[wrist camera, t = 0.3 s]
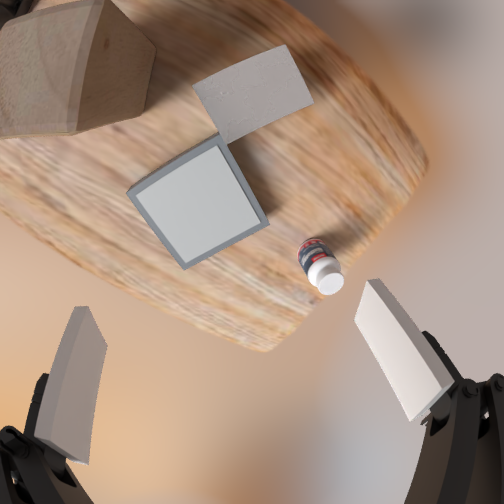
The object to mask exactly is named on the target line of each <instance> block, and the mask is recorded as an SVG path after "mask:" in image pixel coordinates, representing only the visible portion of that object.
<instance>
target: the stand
mask: <svg viewBox="0 0 504 504" xmlns="http://www.w3.org/2000/svg"><path fill="white" fill-rule="evenodd" d="M126 194H127V196H128V197H129V199H130V200H131V201H132V203H133V204H134V206H135V207H136V208H137V210H138V211H139V212H140V214H141V215H142V217H143V218H144V219H145V221H146V222H147V223H148V225H149V226H150V227H151V229H152V230H153V231H154V233H155V234H156V235H157V237H158V238H159V239H160V241H161V242H162V243H163V244H164V246H165V247H166V248H167V250H168V251H169V252H170V253H171V255H172V256H173V257H174V259H175V260H176V261H177V262H178V264H179V265H180V266H181V267H182V269H183V270H186V269H188V268H189V267H191V266H193V265H195V264H197V263H199V262H201V261H202V260H204V259H206V258H208V257H210V256H212V255H214V254H215V253H217V252H219V251H221V250H223V249H225V248H227V247H229V246H230V245H232V244H234V243H236V242H238V241H240V240H242V239H244V238H246V237H247V236H249V235H251V234H253V233H255V232H257V231H259V230H261V229H263V228H265V227H266V226H268V225H270V223H269V222H268V220H267V218H266V216H265V214H264V212H263V210H262V208H261V206H260V205H259V203H258V201H257V199H256V197H255V195H254V193H253V192H252V190H251V188H250V186H249V184H248V182H247V181H246V179H245V177H244V175H243V173H242V172H241V170H240V168H239V166H238V164H237V163H236V161H235V159H234V157H233V155H232V154H231V152H230V150H229V148H228V146H227V145H226V144H225V142H224V140H223V138H222V137H221V135H220V133H219V132H218V133H216V134H214V135H212V136H211V137H209V138H207V139H205V140H203V141H202V142H200V143H198V144H196V145H195V146H193V147H191V148H190V149H188V150H186V151H185V152H183V153H181V154H180V155H178V156H176V157H175V158H173V159H171V160H170V161H168V162H167V163H165V164H164V165H162V166H160V167H159V168H157V169H156V170H154V171H153V172H151V173H150V174H148V175H147V176H145V177H144V178H142V179H141V180H139V181H138V182H137V183H135V184H134V185H132V186H131V187H130V188H129V190H128V191H127V192H126Z"/></svg>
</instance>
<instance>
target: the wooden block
mask: <svg viewBox="0 0 504 504" xmlns="http://www.w3.org/2000/svg"><path fill="white" fill-rule="evenodd" d="M155 54H156V48H155V46H154V45H153V44H152V43H151V42H150V40H149V39H148V38H147V37H146V36H145V35H144V34H143V33H142V32H141V31H140V30H139V29H138V28H137V27H136V26H135V25H134V23H133V22H132V21H131V20H130V19H129V18H128V17H127V16H126V15H125V14H124V13H123V12H122V11H121V10H120V9H119V8H118V7H117V6H116V5H115V4H114V3H113V2H112V1H111V0H80V1H75V2H70V3H65V4H61V5H57V6H53V7H49V8H45V9H42V10H38V11H35V12H32V13H28V14H25V15H23V16H20V17H17V18H14V19H12V20H9V21H8V22H6V23H5V24H4V26H3V27H2V29H1V31H0V140H1V139H11V138H24V137H41V136H72V135H75V134H78V133H81V132H85V131H88V130H91V129H94V128H98V127H101V126H104V125H108V124H112V123H115V122H119V121H123V120H127V119H131V118H135V117H138V116H141V114H142V113H143V111H144V106H145V101H146V95H147V90H148V85H149V80H150V76H151V71H152V67H153V62H154V58H155Z"/></svg>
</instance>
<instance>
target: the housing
mask: <svg viewBox="0 0 504 504" xmlns="http://www.w3.org/2000/svg"><path fill="white" fill-rule="evenodd" d="M192 87H193V89H194V90H195V92H196V94H197V95H198V97H199V99H200V100H201V102H202V104H203V105H204V107H205V109H206V111H207V112H208V114H209V116H210V117H211V119H212V121H213V123H214V124H215V126H216V128H217V130H218V131H219V133H220V135H221V137H222V138H223V140H224V142H225V144H226V145H227V144H229V143H231V142H233V141H235V140H237V139H239V138H241V137H242V136H244V135H246V134H248V133H250V132H252V131H254V130H256V129H258V128H260V127H263V126H265V125H267V124H269V123H271V122H273V121H275V120H277V119H279V118H282V117H284V116H286V115H288V114H291V113H293V112H295V111H297V110H300V109H302V108H304V107H307V106H309V105H312V104H314V101H313V99H312V97H311V95H310V92H309V90H308V88H307V86H306V84H305V82H304V80H303V78H302V76H301V74H300V72H299V70H298V68H297V66H296V64H295V62H294V60H293V58H292V56H291V54H290V52H289V50H288V49H287V47H286V45H285V44H284V45H282V46H279V47H276V48H273V49H271V50H268V51H265V52H263V53H260V54H258V55H255V56H253V57H250V58H248V59H246V60H243V61H241V62H239V63H236V64H234V65H232V66H230V67H228V68H225V69H223V70H221V71H219V72H217V73H215V74H213V75H211V76H209V77H207V78H205V79H203V80H201V81H199V82H198V83H196V84H194V85H192Z"/></svg>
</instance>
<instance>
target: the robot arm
mask: <svg viewBox="0 0 504 504" xmlns="http://www.w3.org/2000/svg"><path fill="white" fill-rule="evenodd" d="M31 3H32V0H0V31H1V29H2V27H3V26H4V24H5V23H6V22H8V21H9V20H12V19H14V18H17V17H20V16H23V15H25V14H27V12H28V10H29V8H30V5H31ZM354 321H355V323H356V324H357V325H358V328H359V329H360V331H361V333H362V335H363V336H364V338H365V340H366V341H367V343H368V345H369V347H370V348H371V350H372V352H373V354H374V355H375V357H376V359H377V361H378V363H379V364H380V366H381V368H382V370H383V372H384V374H385V375H386V377H387V379H388V381H389V383H390V385H391V386H392V388H393V390H394V392H395V394H396V396H397V398H398V400H399V401H400V403H401V405H402V407H403V409H404V411H405V413H406V415H407V417H408V419H409V421H412V420H414V419H416V418H418V417H420V416H422V415H423V414H424V413H425V412H426V411H427V410H428V409H430V411H431V413H430V414H429V415H428V416H427V417H425V418H424V420H422V422H421V425H423V424H424V423H425V422H427V421H428V422H427V424H426V425H425V426H427V427H426V432H425V437H424V441H423V445H422V449H421V453H420V457H419V461H418V464H417V467H416V471H415V474H414V477H413V480H412V483H411V486H410V489H409V492H408V495H407V497H406V500H405V503H404V504H504V376H503V375H501V374H498V373H496V374H493V376H492V377H491V378H490V379H489V380H488V381H484V382H479V383H476V382H475V381H473V380H471V379H464V378H463V377H462V376H461V375H460V373H459V372H458V370H457V369H456V367H455V366H454V364H453V363H452V362H451V360H450V359H449V357H448V356H447V354H445V351H444V350H443V349H442V347H440V344H439V343H438V342H437V340H436V339H435V338H434V337H433V336H432V335H431V334H430V333H428V332H427V331H423V332H421V331H420V330H419V329H418V327H417V326H416V324H415V323H414V322H413V320H412V319H411V318H410V317H409V315H408V314H407V313H406V311H405V310H404V309H403V307H402V306H401V305H400V303H399V302H398V301H397V300H396V298H395V297H394V296H393V295H392V293H391V292H390V291H389V290H388V288H387V287H386V286H385V285H384V283H383V282H382V281H381V280H380V279H379V278H378V279H372V280H367V282H366V285H365V288H364V292H363V295H362V298H361V301H360V304H359V307H358V310H357V313H356V316H355V319H354ZM106 350H107V343H106V342H105V340H104V338H103V336H102V334H101V332H100V330H99V328H98V326H97V324H96V322H95V320H94V318H93V316H92V313H91V311H90V309H89V307H88V306H80V307H75V308H74V310H73V312H72V315H71V317H70V319H69V322H68V324H67V327H66V329H65V332H64V334H63V337H62V339H61V342H60V345H59V348H58V350H57V353H56V356H55V359H54V362H53V365H52V368H51V371H50V374H46V373H43V374H42V376H41V377H40V379H39V380H38V381H37V383H36V387H35V390H34V395H33V397H32V403H31V404H30V408H29V412H28V416H27V420H26V425H25V429H24V433H23V434H22V433H21V432H20V431H18V430H17V429H16V428H14V427H13V426H5V427H4V428H3V429H2V430H1V431H0V504H94V503H93V502H92V501H91V499H90V498H89V496H88V495H87V493H86V492H85V490H84V489H83V488H82V486H81V485H80V483H79V482H78V480H77V478H76V477H75V475H74V474H73V472H72V471H71V469H70V467H69V466H68V464H67V463H66V458H68V459H69V460H71V461H73V462H76V463H80V464H85V465H89V454H90V442H91V434H92V425H93V418H94V412H95V405H96V399H97V394H98V388H99V382H100V378H101V373H102V368H103V363H104V358H105V355H106ZM486 412H488V413H489V417H488V418H487V419H486V418H485V416H484V414H486ZM12 478H14V481H15V483H13V480H12Z"/></svg>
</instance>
